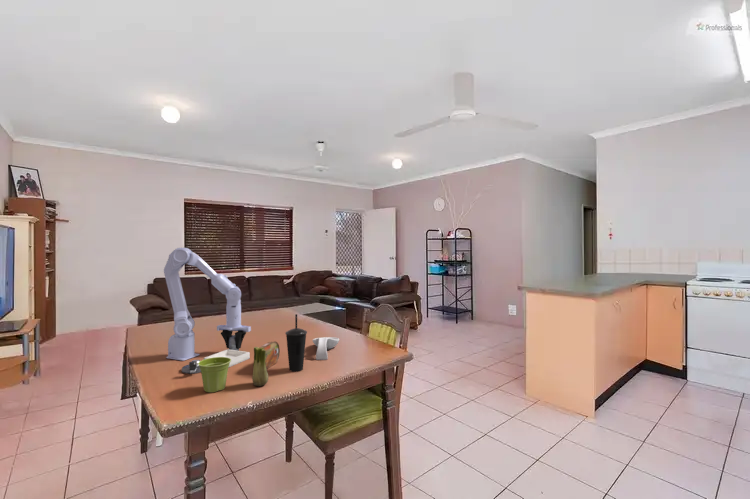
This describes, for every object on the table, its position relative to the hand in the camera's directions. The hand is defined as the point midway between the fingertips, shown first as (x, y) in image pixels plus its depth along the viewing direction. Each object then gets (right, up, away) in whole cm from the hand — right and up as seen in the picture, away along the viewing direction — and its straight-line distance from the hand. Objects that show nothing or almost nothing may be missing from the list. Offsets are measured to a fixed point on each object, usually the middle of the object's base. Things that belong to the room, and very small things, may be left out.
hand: (233, 348), depth 147 cm
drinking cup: (+31, -2, -20) cm, 37 cm away
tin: (+19, -2, -17) cm, 26 cm away
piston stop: (0, -2, 0) cm, 2 cm away
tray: (+2, -2, -12) cm, 12 cm away
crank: (-4, -1, -23) cm, 24 cm away
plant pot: (+9, -2, -38) cm, 39 cm away
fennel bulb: (+22, -2, -34) cm, 41 cm away
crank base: (-6, -2, -20) cm, 21 cm away
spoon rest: (+38, -3, +2) cm, 38 cm away
